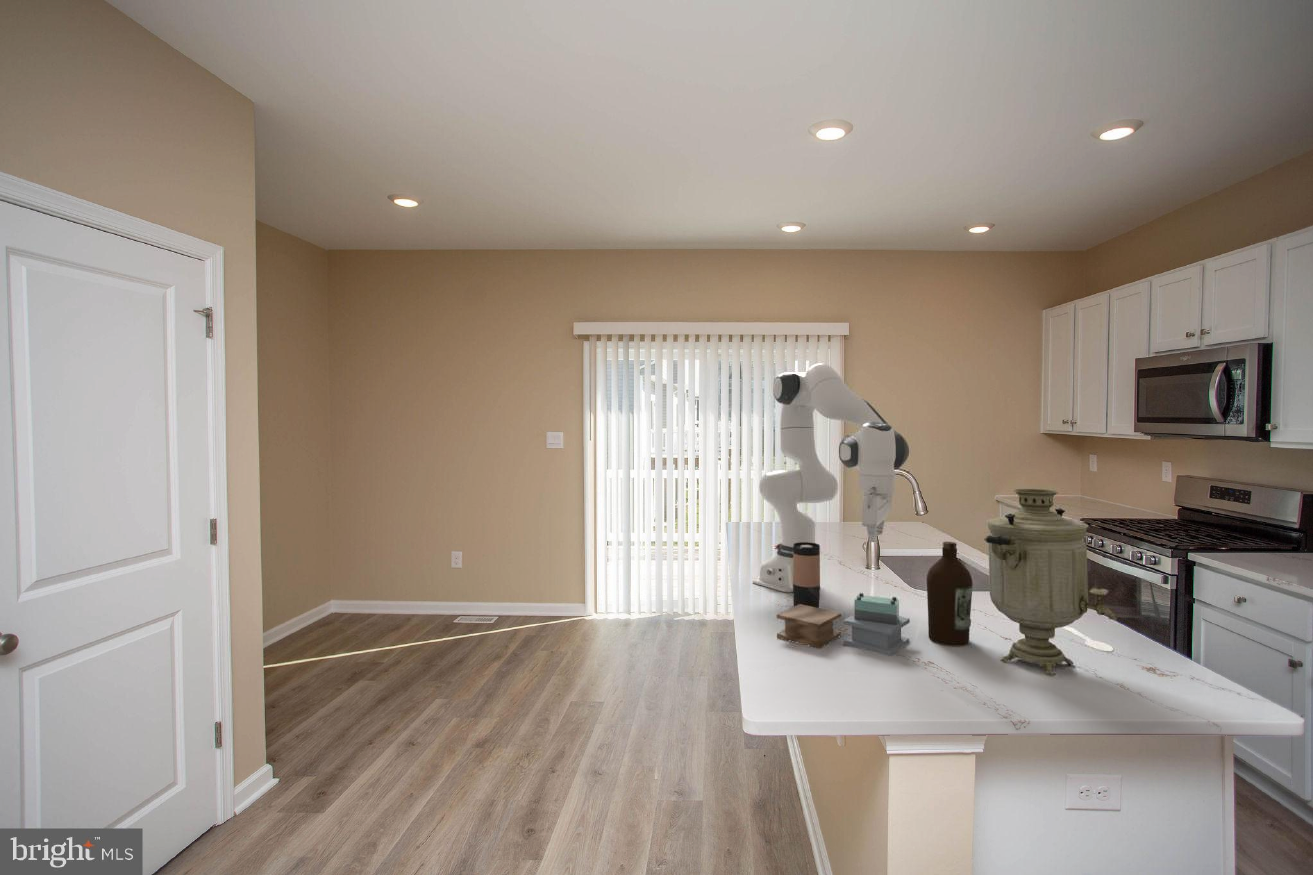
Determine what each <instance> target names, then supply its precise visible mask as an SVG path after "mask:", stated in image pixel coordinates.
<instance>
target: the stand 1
mask: <svg viewBox="0 0 1313 875" xmlns="http://www.w3.org/2000/svg"><path fill="white" fill-rule="evenodd" d="M841 617H842V612H838V611H834V610H830V609H824V608H820V607H819V608H816V607H811V606H807V605H802V604H799V605H797V606H794V605H793V606H792V607H790V608H788V609H786V610H784V611H781V612H780V613H777V614H776V619H778V620H783V621H784V629H783V630H781V631H779V632H777V633H776V638H777V639H781V638H783V639H782V640H785V641H788V640H791V641H790V642H792V641H794V642H793V643H796V642H798V643H797V644H800V645H804V646H807V645H809V646H808V647H812V648H815V647H816V648H815V649H819V648H820V649H822V648H823V647H825V646H826V645H828V644H829V642H830V643H831V642H833V641H835V640H836V638H837V639H838V638H840V637H841V636H842V631H838V630H834V621H836V620H838V619H840V618H841ZM839 636H840V637H839ZM824 645H825V646H824Z"/></svg>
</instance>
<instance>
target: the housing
mask: <svg viewBox="0 0 1313 875" xmlns="http://www.w3.org/2000/svg"><path fill="white" fill-rule="evenodd" d="M853 602H854V604H853V605H854V609H853V610H854V612H853V613H854V614H853V615H854V619H856V620H863V621H870V622H877V623H885V624H892V625H897V623H898V620H899V617H900V599H898V598H897V597H896V596H892V598H890V597H889V598H888V597H881V596H873V595H872V596H871V595H865V594H864V593H863V592H859V593H858V594H857V595H856V597H855V598H854V601H853Z"/></svg>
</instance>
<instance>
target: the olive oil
mask: <svg viewBox="0 0 1313 875" xmlns="http://www.w3.org/2000/svg"><path fill="white" fill-rule="evenodd" d="M941 550H942V551H941V552H942V554H941V555H942V556H941V557H940V559H938V560H937V561H936V562H935V563H934V564H932V565H931V567H930V568H929V569H928V571H927V575H926V597H927V620H928V621H927V625H928V627H927V628H928V630H927V631H928V639H929V640H930V641H932V642H935V643H936V644H938V645H939V644H940V645H943V646H949V647H964V646H966V645H968V644H969V643H970V632H971V631H970V630H971V629H970V628H971V625H972V619H971V611H972V597H973V578H972V576H971V572H970V571H969V570H968V569H967V568H966V566H965V565H964V564H963V563H962V562H961V560H959V559H958V556H957V555H958V548H957V542H954V541H942V549H941Z"/></svg>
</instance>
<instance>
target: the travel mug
mask: <svg viewBox="0 0 1313 875" xmlns="http://www.w3.org/2000/svg"><path fill="white" fill-rule="evenodd" d="M820 592H821V547H820V544H818V543H816V542H815V543H809V542H799V543H795V544H794V545H793V592H792V595H793V596H792V599H793V607H794V606H797V605H799V604H802V605H807V606H811V607H816V608H820V597H821V596H820V594H821V593H820Z"/></svg>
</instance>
